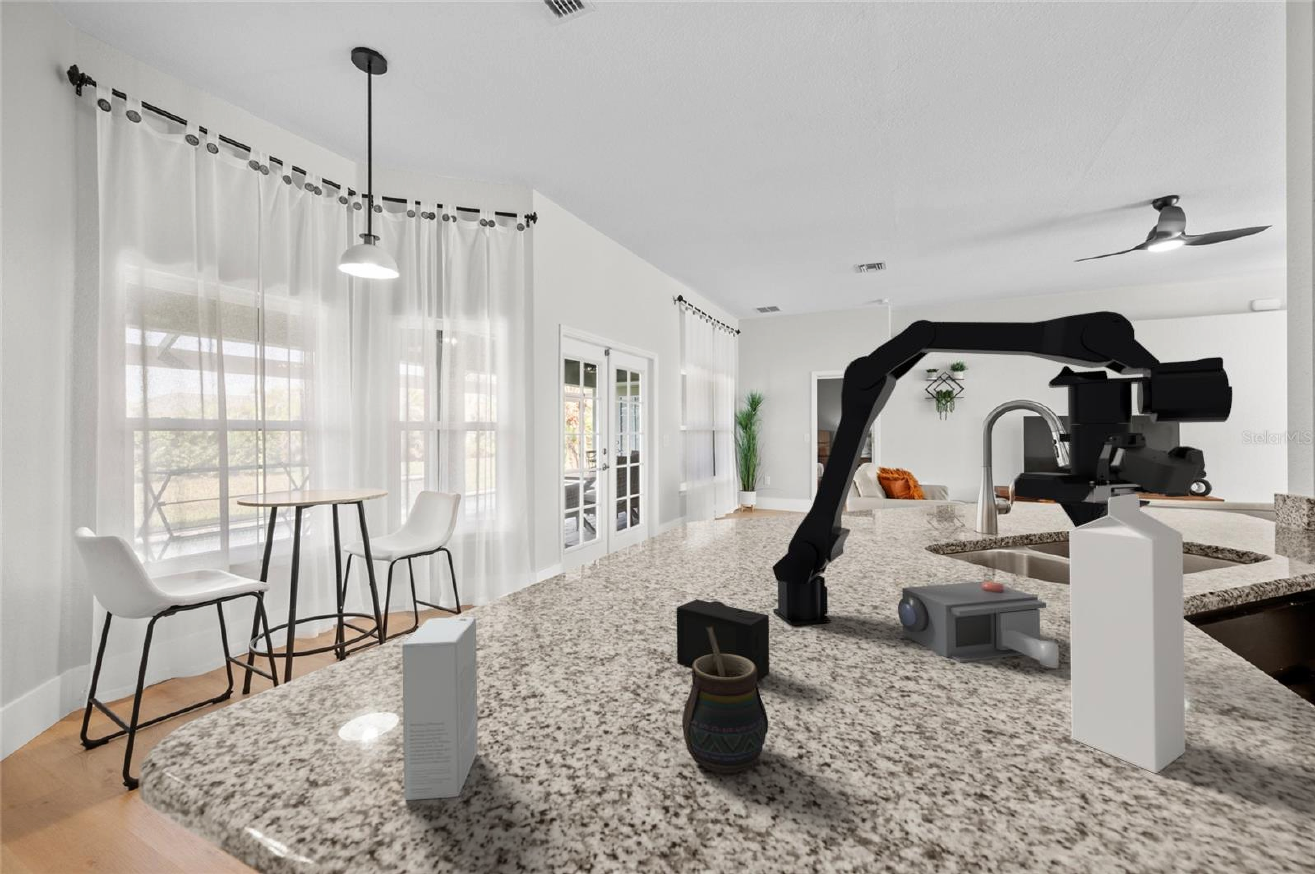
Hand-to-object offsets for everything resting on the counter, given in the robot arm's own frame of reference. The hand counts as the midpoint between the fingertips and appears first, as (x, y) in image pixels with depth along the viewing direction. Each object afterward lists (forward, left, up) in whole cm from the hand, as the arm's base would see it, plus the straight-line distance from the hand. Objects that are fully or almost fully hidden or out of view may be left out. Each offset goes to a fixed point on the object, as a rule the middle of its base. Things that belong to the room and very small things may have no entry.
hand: (1100, 559), depth 62 cm
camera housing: (-8, +11, -13) cm, 19 cm away
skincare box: (-71, -2, -13) cm, 72 cm away
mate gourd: (-48, -5, -13) cm, 50 cm away
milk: (-13, -12, -13) cm, 22 cm away
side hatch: (-4, +4, -12) cm, 14 cm away
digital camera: (-41, +12, -13) cm, 45 cm away
